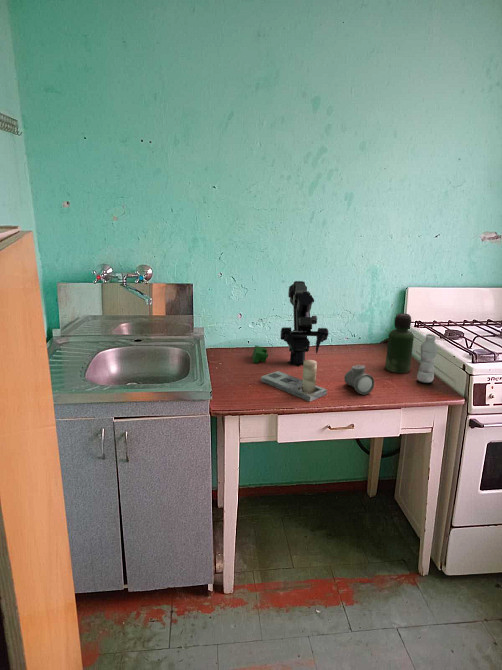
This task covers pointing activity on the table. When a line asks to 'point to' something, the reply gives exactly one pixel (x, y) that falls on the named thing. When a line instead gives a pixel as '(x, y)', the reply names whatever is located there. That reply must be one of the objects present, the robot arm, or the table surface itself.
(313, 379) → the pin
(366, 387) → the pipe fitting
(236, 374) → the table surface
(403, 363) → the green bottle
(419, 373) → the plastic bottle
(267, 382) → the grey slotted plate
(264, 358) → the clamp
